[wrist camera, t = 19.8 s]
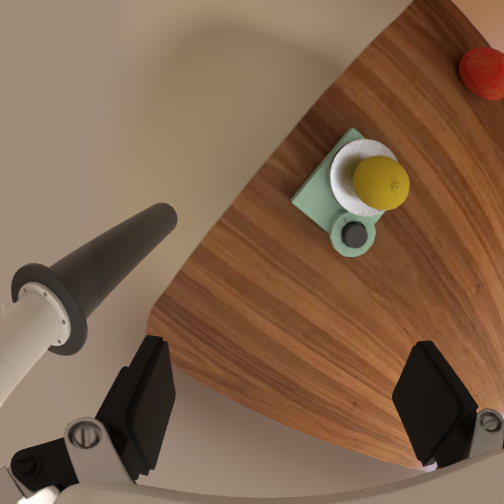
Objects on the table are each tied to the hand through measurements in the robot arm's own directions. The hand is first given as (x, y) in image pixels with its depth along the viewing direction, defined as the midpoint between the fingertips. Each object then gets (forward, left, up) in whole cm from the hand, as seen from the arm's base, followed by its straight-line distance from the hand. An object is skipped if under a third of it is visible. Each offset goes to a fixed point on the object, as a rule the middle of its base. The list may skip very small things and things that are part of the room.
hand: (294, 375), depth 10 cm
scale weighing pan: (+11, +6, -25) cm, 28 cm away
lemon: (+11, +6, -24) cm, 27 cm away
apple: (+30, +25, -28) cm, 48 cm away
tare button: (+10, -1, -25) cm, 27 cm away
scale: (+10, +4, -28) cm, 30 cm away
